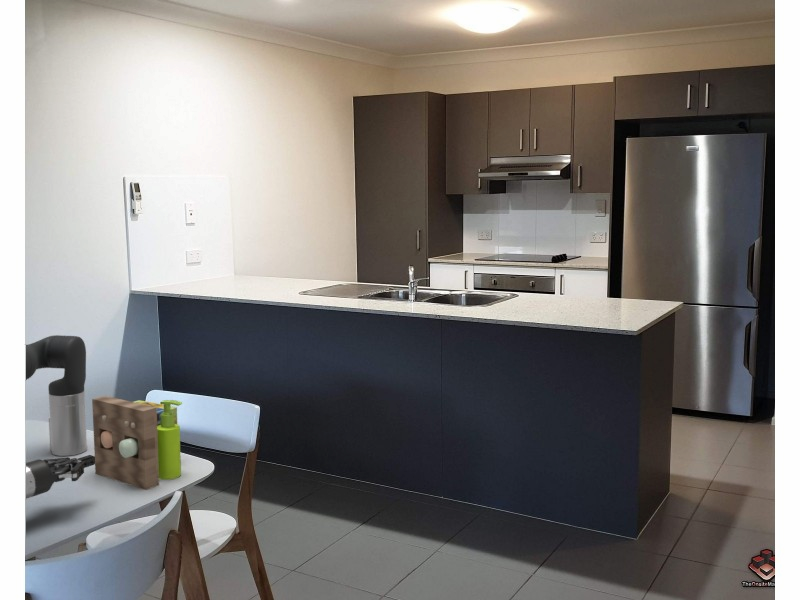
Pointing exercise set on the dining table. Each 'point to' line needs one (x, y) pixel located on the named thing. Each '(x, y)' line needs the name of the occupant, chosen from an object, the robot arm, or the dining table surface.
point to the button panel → (125, 424)
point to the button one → (107, 439)
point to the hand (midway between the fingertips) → (93, 459)
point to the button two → (128, 447)
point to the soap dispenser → (169, 443)
